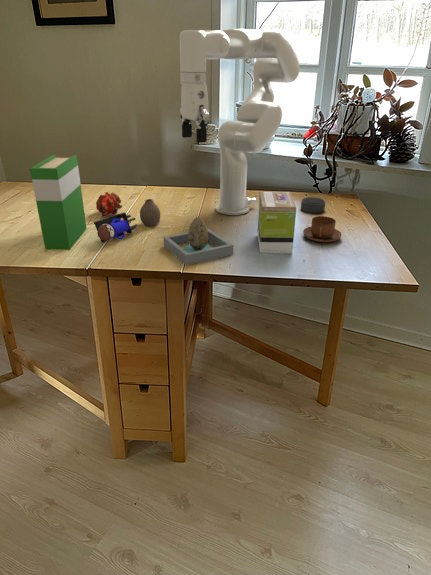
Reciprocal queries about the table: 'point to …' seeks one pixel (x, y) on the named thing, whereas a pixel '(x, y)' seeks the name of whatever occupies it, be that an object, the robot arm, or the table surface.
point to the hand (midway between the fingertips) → (194, 139)
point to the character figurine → (114, 227)
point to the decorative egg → (198, 234)
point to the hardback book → (59, 201)
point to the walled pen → (195, 256)
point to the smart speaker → (313, 205)
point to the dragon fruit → (108, 204)
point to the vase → (150, 213)
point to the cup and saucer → (322, 230)
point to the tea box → (276, 222)
